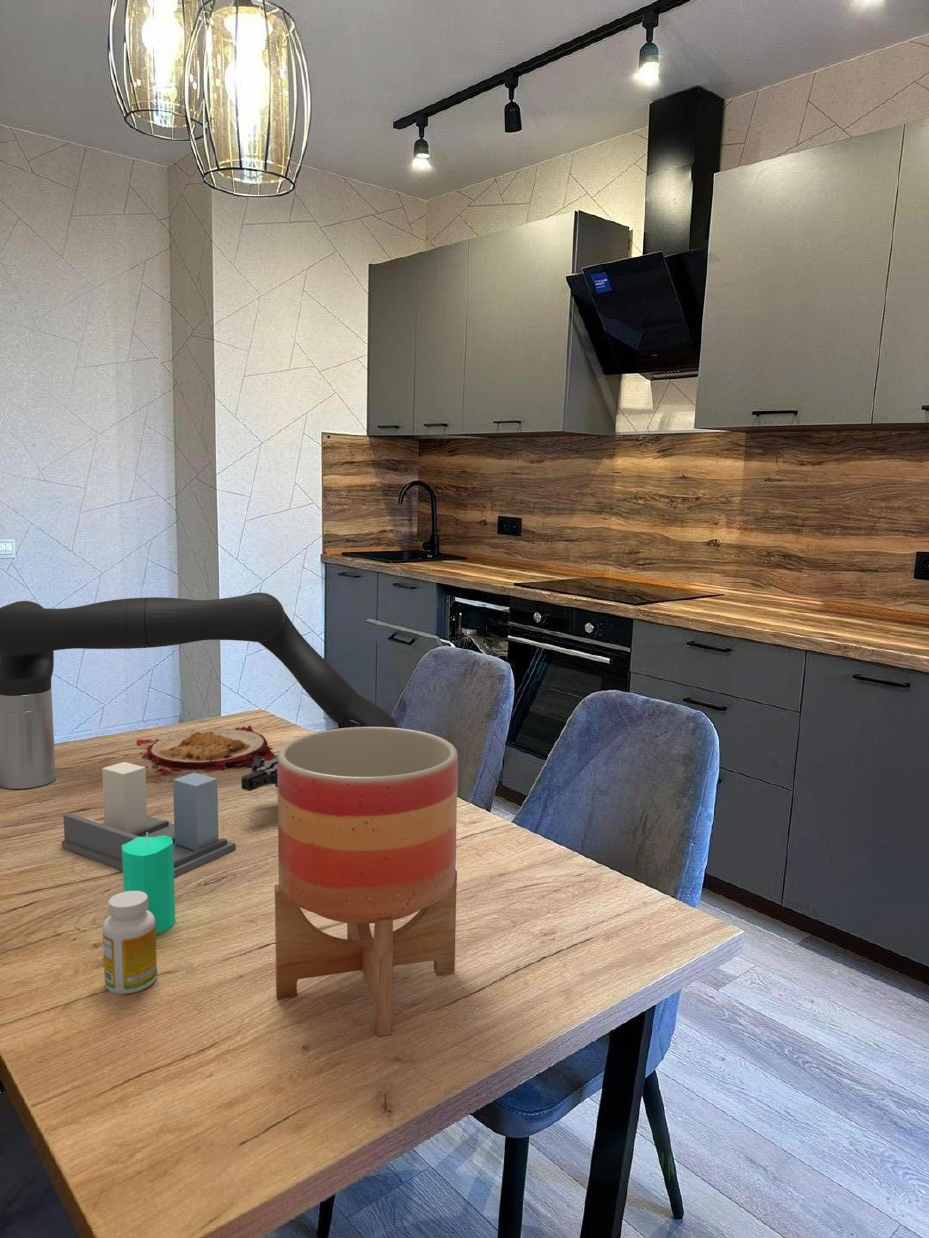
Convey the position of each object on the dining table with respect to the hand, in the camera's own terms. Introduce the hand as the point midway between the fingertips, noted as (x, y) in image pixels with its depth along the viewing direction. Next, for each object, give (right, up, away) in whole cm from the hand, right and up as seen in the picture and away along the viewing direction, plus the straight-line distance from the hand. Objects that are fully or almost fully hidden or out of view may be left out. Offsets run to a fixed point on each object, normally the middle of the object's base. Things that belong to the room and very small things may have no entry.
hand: (244, 784), depth 136 cm
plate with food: (-19, -2, +41) cm, 45 cm away
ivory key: (-18, -6, -3) cm, 19 cm away
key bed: (-13, -8, -7) cm, 17 cm away
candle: (-4, -12, -29) cm, 32 cm away
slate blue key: (-5, -7, -8) cm, 12 cm away
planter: (+24, -14, -41) cm, 50 cm away
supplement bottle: (-2, -14, -42) cm, 44 cm away
